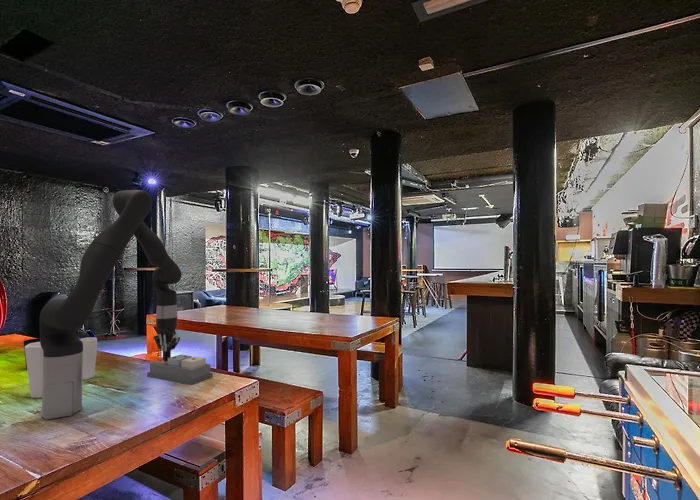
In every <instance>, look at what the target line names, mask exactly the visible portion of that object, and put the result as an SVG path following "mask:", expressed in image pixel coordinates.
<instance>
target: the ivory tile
mask: <svg viewBox="0 0 700 500" xmlns="http://www.w3.org/2000/svg"><path fill="white" fill-rule="evenodd" d="M206 364H207V357H202V356H201V357H200V356H192V357H191V358H188V359H184V360H182V366H181V368H187V369H196V368H199V367H202V366H205V365H206Z"/></svg>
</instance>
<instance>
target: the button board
mask: <svg viewBox="0 0 700 500" xmlns="http://www.w3.org/2000/svg"><path fill="white" fill-rule="evenodd" d="M160 360H161V359H160ZM160 360H158V361H160ZM156 361H157V360H156ZM156 361H153V362H149V371H148V372H146V377H147V378H153V379H156V380H157V379H158V380H163V381H168V382H175V383H180V384H185V385H190V386H191V385H195V384H197V383H200V382H202V380H203V381H205V380H208V379H211V378H213V372H211V363H206V365H205V366H202V367H199V368H196V369H187V368H181V366H180V367H175V366H169V365H168V364H165V365H163V364H157V363H154V362H156ZM210 377H211V378H210ZM207 378H208V379H207Z"/></svg>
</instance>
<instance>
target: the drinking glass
mask: <svg viewBox="0 0 700 500" xmlns="http://www.w3.org/2000/svg"><path fill="white" fill-rule="evenodd" d="M79 339H80V340H81V341H82V343H83V376H82V381H86V380H91V379H93V378H94V377H95V376H96V375H95V374H96V373H95V370H96V361H97V354H98V352H97V351H98V337H96V336H95V337H94V336H93V337H92V336H91V337H84V338H83V337H81V338H79Z"/></svg>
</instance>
